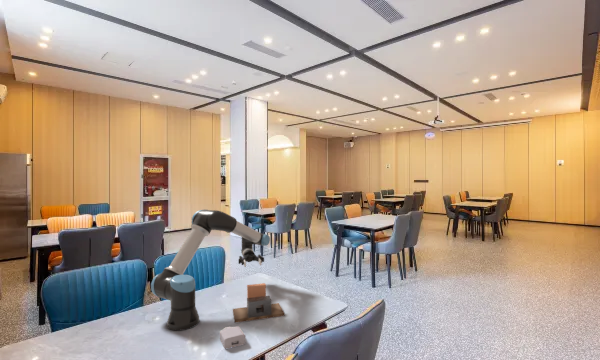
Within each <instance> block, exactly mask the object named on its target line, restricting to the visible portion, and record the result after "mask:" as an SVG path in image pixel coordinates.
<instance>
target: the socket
mask: <svg viewBox="0 0 600 360" xmlns="http://www.w3.org/2000/svg"><path fill="white" fill-rule="evenodd" d="M271 304H272V299H271V297H270V295H266V296H261V297H252V298H247V297H246V307H247V314H248V318H252V317H259V316H267V315H271ZM256 305H262V308H256Z"/></svg>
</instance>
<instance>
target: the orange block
mask: <svg viewBox="0 0 600 360" xmlns="http://www.w3.org/2000/svg"><path fill="white" fill-rule="evenodd" d="M246 287H247V288H246V291H247V292H246V299H247V298H252V297H261V296H267V289H266V287H267V284H266V283H265V282H263V283H253V284H247V285H246ZM256 308H262V305H256Z"/></svg>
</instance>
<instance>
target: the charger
mask: <svg viewBox="0 0 600 360" xmlns="http://www.w3.org/2000/svg"><path fill="white" fill-rule="evenodd" d="M219 340H220V342H221V344H222V346H223V348H224V350H227V349H226V348H228V349H232V348H235V346H236V347H239V346H243V345H246V334H245V333H244V332H243V330H242V329H241V327H240V326H239V325H238V326H226V327H224V328H223V329H221V330H220V331H219ZM231 347H232V348H231Z"/></svg>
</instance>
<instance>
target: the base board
mask: <svg viewBox="0 0 600 360" xmlns="http://www.w3.org/2000/svg"><path fill="white" fill-rule="evenodd" d="M232 314H233V321H234V323H237V324H238V323H244V322H250V321H257V320H264V319H271V318H279V317H284V316H285V312H284V310H283V308H282V306H281V304H280V302H277V303H271V315H267V316H259V317H252V318H248V314H247V306H246V307H237V308H236V307H235V308H232Z"/></svg>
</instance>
